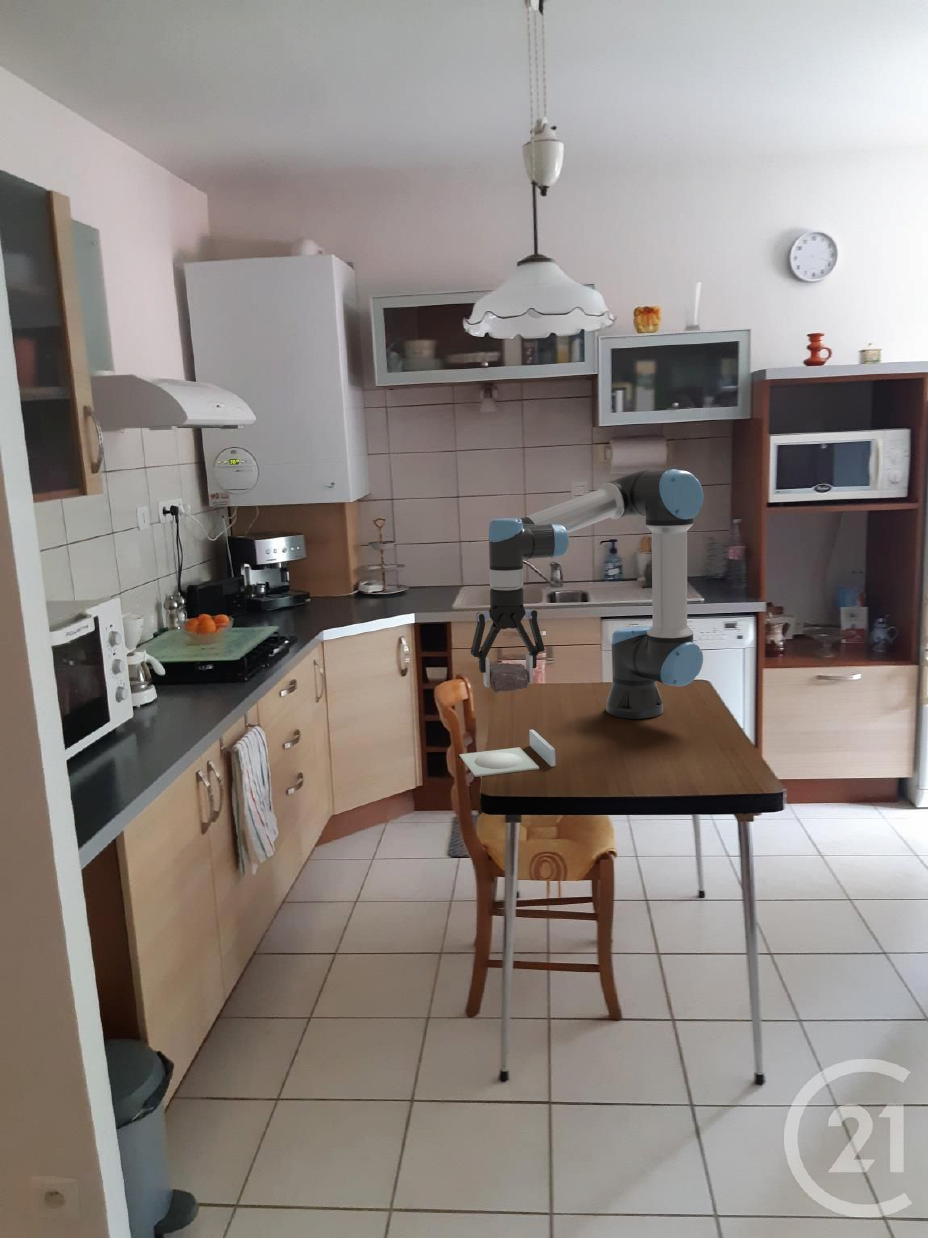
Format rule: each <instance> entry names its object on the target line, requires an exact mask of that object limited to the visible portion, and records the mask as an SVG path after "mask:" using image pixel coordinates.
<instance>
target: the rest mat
mask: <svg viewBox="0 0 928 1238" xmlns="http://www.w3.org/2000/svg"><path fill="white" fill-rule="evenodd" d="M459 758H461V760H462V761H463V762H464V764H465V766H466V767H467V768H468V769H469V770H470V772H471V773H472V774H473V776H474V777H475V778H476V777H485V776H491V775H493V776H494V775H500V774H509V773H516V772H517V773H518V772H523V771H533V770H534V771H535V770H540V766H539V765H537V763H536V762H535V761H534V760H533V759H532V758H531V757H530V756H529V754H527V753H526V752H525V751H524V750H523V749H522V748H521V747H511V748H503V749H495V750H487V751H486V750H484V751H477V752H467V753H461V754H459Z"/></svg>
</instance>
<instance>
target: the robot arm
mask: <svg viewBox="0 0 928 1238" xmlns="http://www.w3.org/2000/svg"><path fill="white" fill-rule="evenodd" d="M703 504H704V491H703V487H702V484H701V482H700V481H699V479H698V478H696V477H695V475H694V473H691V472H689V471H686V470H682V469H681V470H679V469H664V470H663V469H656V470H655V469H654V470H653V469H643V470H637V471H634V472H631V473H628V474H626V475H624V476H621V477H618V478H615V479H613V480H610V481H608V482H605V483H602V485H601V486H600V487H599V489H598V490H594V491H592V492H589V493H586V494H583V495H581V496H578V497H575V498H573V499H570V500H568V501H567V500H566V501H564V502H561V503H559V504H556V505H553V506H550V507H548V508H545V509H542V510H539V511H538V512H535V513H531V514H530V515H526V516H524V517H520V518H516V517H515V518H513V517H506V518H504V517H501V518H493V519H492V520H490V522H489V525H488V538H487V540H488V553H489V554H488V555H489V586H490V587H491V588H490V590H489V600H490V601H489V604H490V605H489V607H490V608H489V610H488V612H476V622H477V623H476V627H475V631H474V635H473V640H472V645H471V647H470V648H471V649H470V655H472V657H474V658H478V670H479V672H480V673H482V674H483V686H485V688H487V689H488V688H491V684H490V667H489V666H490V658H488V657H487V656H488V654H489V652H490V650H491V649H492V646H493V645H494V643H495V640H496V639H497V636H498V634H499V633H500V631H501V630H506V629H515V630H516V631H517V633H518V634H519V636H520V638H521V640H522V642H523V644H524V645H525V647H526V649H527V651H528V653H526V654H525V669H526V670H527V673H528V685H533V684H534V675H533V674H534V670H533V669H537V667H538V665H537V663H538V662H537V656H538V655H539V653H542V652H545V646H544V642H543V638H542V635H541V634H542V633H541V631H540V627H539V624H538V611H537V610H536V609H534V608H530V609H525V606H524V589H523V586H524V560H525V561H526V560H531V559H544V558H551V559H553V558H556V557H562V556H563V555H565V554H566V553H567V550H568V548H569V546H570V541H569V540H570V537H569V534H571V533H572V532H574V531H578V530H580V529H583V528H586V527H588V526H591V525H593V524H595V523H599V522H602V521H605V520H607V519H610V520H618V519H620V518H623V517H624V518H625V517H634V516H637V517H642V516H643V517H645V527H646V528H647V529H649V531H651V577H652V578H651V582H652V583H651V588H652V590H651V591H652V597H651V599H652V602H651V603H652V606H651V607H652V608H651V609H652V625H651V626H647V625H646V626H632V627H623V628H620V629H616V630H614V631H613V633H612V636H611V637H612V640H611V645H610V646H611V669H612V670H611V672H612V673H611V674H612V684H611V688H610V691H609V693H608V697H607V699H606V705H605V706H606V707H605V708H606V709H605V711H606V713H607V714H608V715H611V716H612V717H616V718H621V719H632V720H633V719H634V720H635V719H636V720H639V719H642V720H643V719H649V718H654V717H657V716H660V715H662V713H664V703H663V700H662V697H661V694H660V691H659V689H658V688H659V687H658V684H657V682H658V683H661V684H665V685H666V686H673V687H685V686H687V685H689V684H691V683H692V682H693V681H695V679H696V677H697V676H698V675H700V672H701V670H702V667H703V663H704V655H703V653H704V652H703V650H702V648H700V646H699V645H698V644H697V643H695V642H694V631H693V630H692V628H690V627H689V626H688V530H689V529H691V528H692V526H693V525H694V518H695V517H696V516H698V514H699V513H700V511H701V510H700V509H702V507H703ZM525 616H526V619H528V622H529V626H530V630H531V634H532V637H533V641H534V644H535V646H534V644H533V642H532V640H531V638H530V636H529V635H528V633H527V632H526V629H525V627H524V625H523V623H522V620H523V619H524V617H525ZM489 618H490V620H491V621H492V624H491V626H490V629H489V631H488V633H487V635H486V637H485V640H484V641H483V643H482V640H483V635H484V633H485V629H486V623H487V622H488V619H489ZM481 645H482V646H481Z"/></svg>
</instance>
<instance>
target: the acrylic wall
mask: <svg viewBox="0 0 928 1238" xmlns="http://www.w3.org/2000/svg"><path fill="white" fill-rule="evenodd" d="M528 731H529V732H528V733H529V747H530V748H531V749H533V751H534V752H536V753H537V754H538V756H540V758H542V760H544V761H545V762H546V763H547V764H548V766H550V767H556V749H555V748H554V747H553V746H552V744H550V743H549V742H548V741H547V740H545V738H543V737H542V736H541V735H540V734H539V733H538V732H537V731H536V730H534V729H529V730H528Z"/></svg>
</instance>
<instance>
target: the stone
mask: <svg viewBox="0 0 928 1238" xmlns="http://www.w3.org/2000/svg"><path fill="white" fill-rule="evenodd" d="M489 667H490V688H491V689H492V691H493V692H494V693H495V694H497V693H503V692H510V691H511V692H512V691H517V690H523V689H527V688H528V686H529V683H528V673H527V670H526V665H524V664H522V663H510V662H505V663H504V662H497V663H489Z"/></svg>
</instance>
